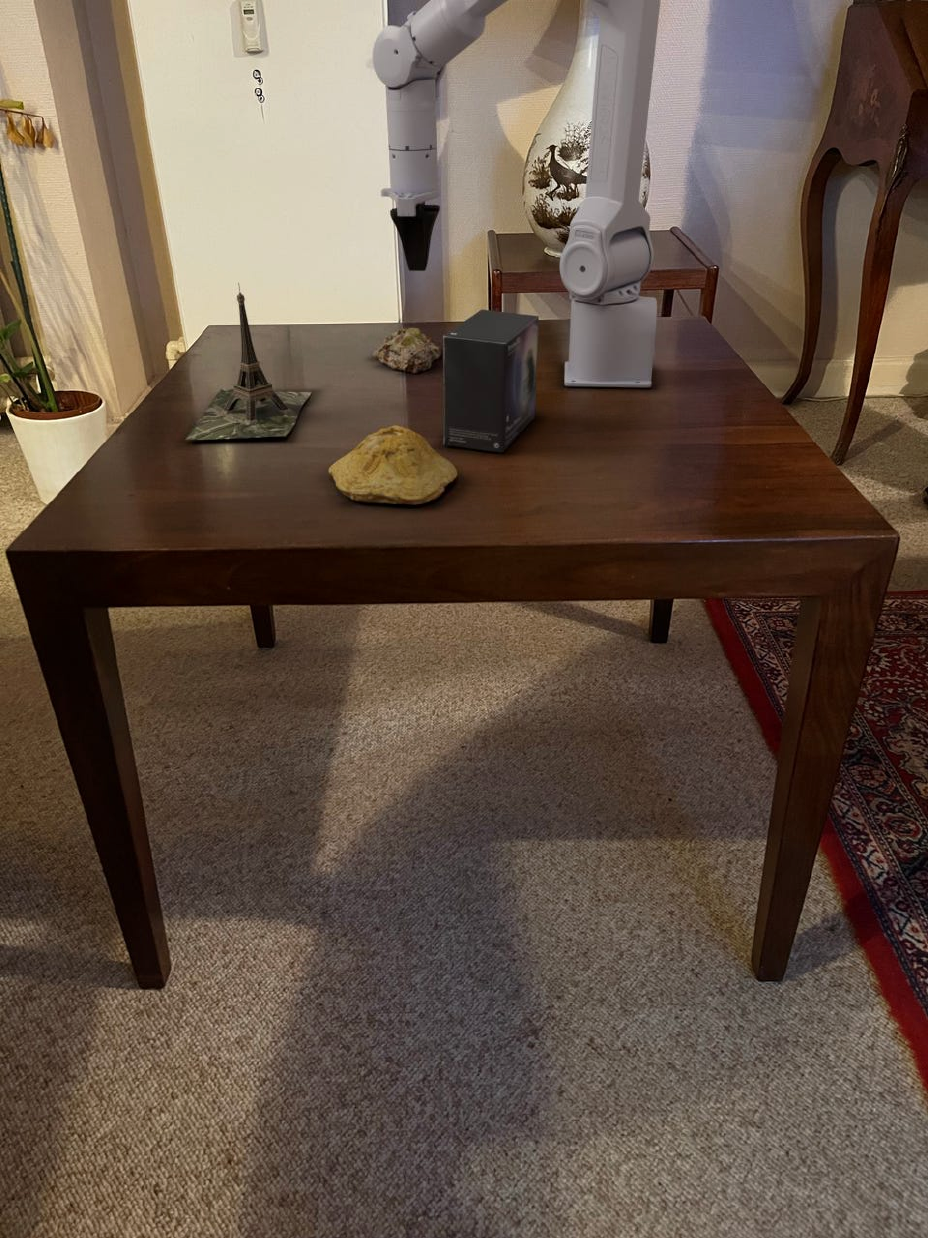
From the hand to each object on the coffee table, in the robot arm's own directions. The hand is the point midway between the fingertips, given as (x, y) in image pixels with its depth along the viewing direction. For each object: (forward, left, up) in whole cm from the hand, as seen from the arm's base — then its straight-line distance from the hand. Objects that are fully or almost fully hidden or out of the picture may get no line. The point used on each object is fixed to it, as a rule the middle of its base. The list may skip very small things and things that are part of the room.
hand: (417, 269), depth 116 cm
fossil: (-4, +47, -9) cm, 47 cm away
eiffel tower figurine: (+13, +31, -9) cm, 34 cm away
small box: (-12, +34, -9) cm, 37 cm away
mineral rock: (0, +11, -9) cm, 14 cm away
